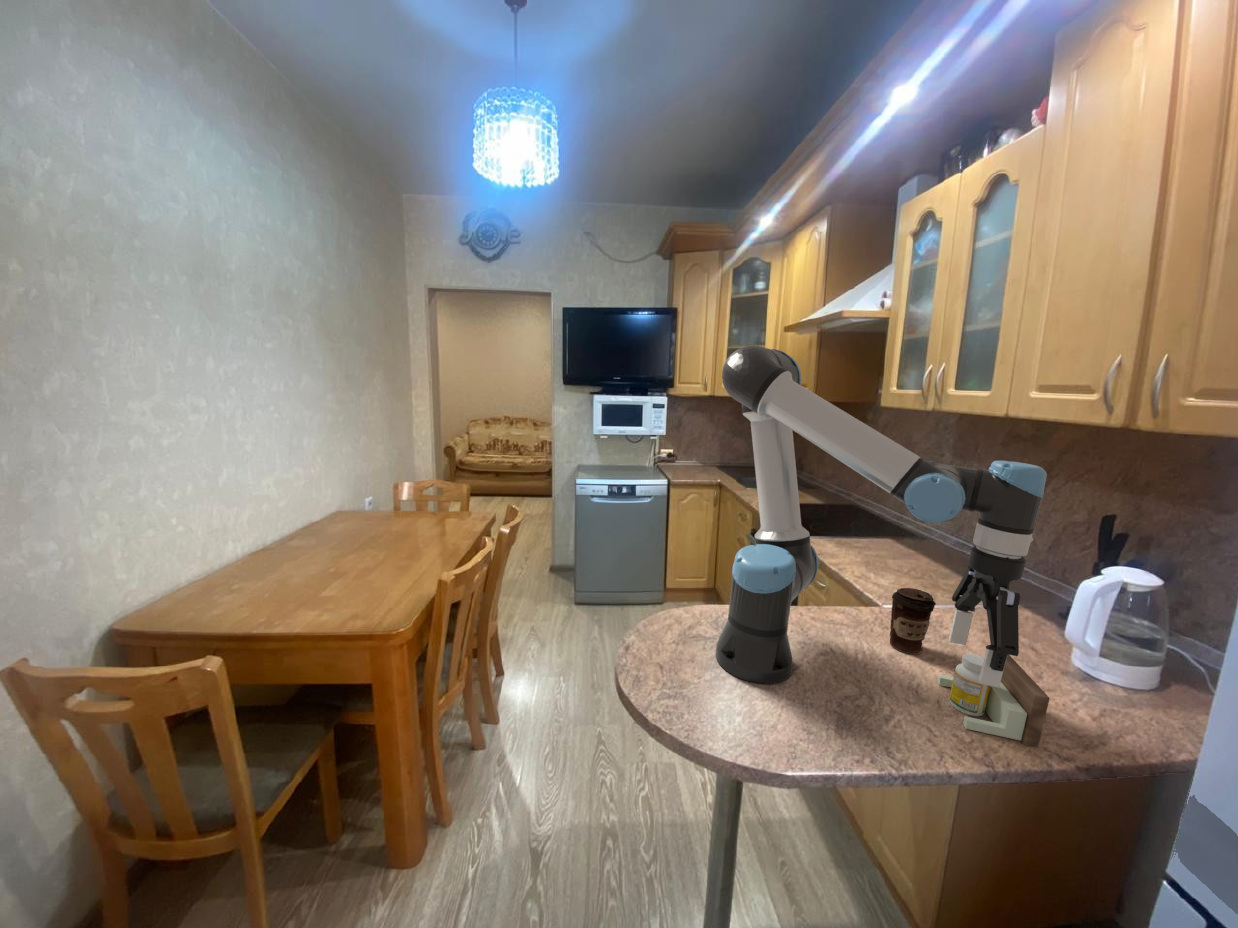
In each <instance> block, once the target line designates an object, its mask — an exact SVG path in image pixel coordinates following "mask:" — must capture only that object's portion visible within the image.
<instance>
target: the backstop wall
mask: <svg viewBox="0 0 1238 928" xmlns="http://www.w3.org/2000/svg"><path fill="white" fill-rule="evenodd" d="M1001 683H1002V684H1003V685H1004V686H1005V687H1006V689H1007V690H1008V691H1009V692H1010V693H1011V695H1012V696H1013V697H1014V698H1015V700H1016V701H1017V702H1018V703H1019V704H1020V706H1021V707H1022V708H1023V709H1024V710H1025V712H1026V713H1027V717H1026V722H1025V726H1024V730H1023V735H1022V739H1021V743H1022V744H1023V745H1025V746H1031V747H1034V748H1039V745H1040V741H1041V740H1040V739H1041V737H1042V732H1043V728H1044V723H1045V718H1046V715H1047V711H1048V707H1049V703H1050V699H1051V698H1050V696H1048V695H1047V694H1046V692H1045V691H1044V690H1043V689H1042V688H1041V687H1040V686H1039V685H1038V684H1037V683H1036V682H1035V680H1034V679H1032V677H1031V676H1030V675H1029V673H1027V672H1026V671H1025V670H1024V669H1023V668H1022V667H1021V666H1020V664H1018V663H1017V662H1016V661H1015V659H1014V658H1013V657H1012V655H1007V659H1006V663H1005V667H1004V671H1003V675H1002V678H1001Z"/></svg>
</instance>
